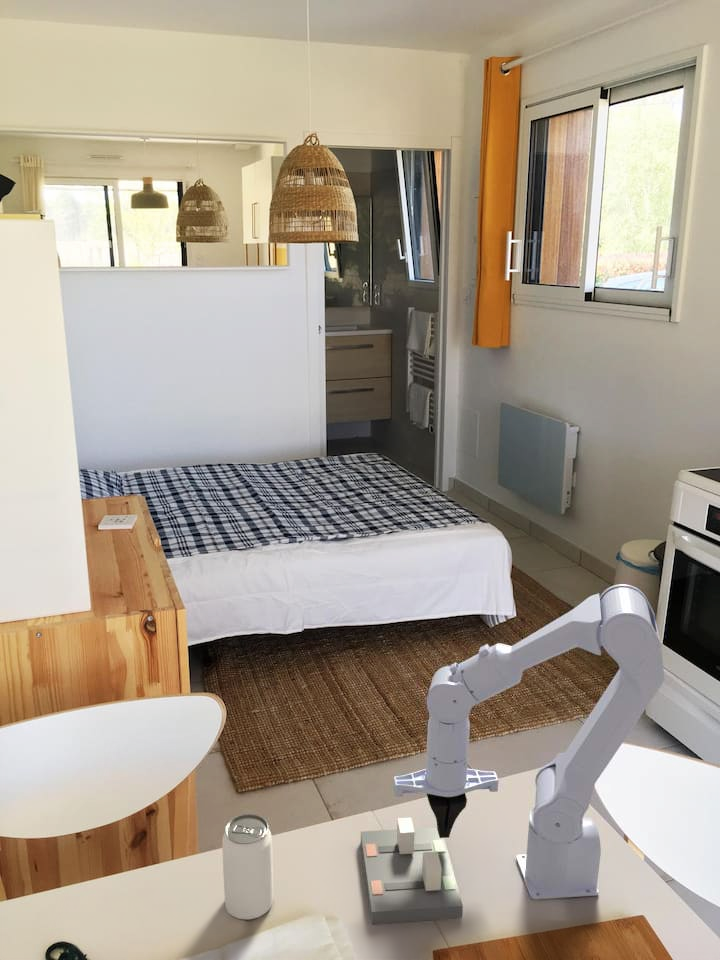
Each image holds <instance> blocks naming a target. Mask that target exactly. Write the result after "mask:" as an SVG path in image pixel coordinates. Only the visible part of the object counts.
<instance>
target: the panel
mask: <svg viewBox="0 0 720 960" xmlns="http://www.w3.org/2000/svg"><path fill="white" fill-rule="evenodd" d="M413 828H414V827H413ZM414 832H415V834H414V853H411V854H400V853H399V848H398V843H397V828H396V829H385V830H384V829H383V830H381V829H380V830H366V831H362V830H361V831H360V849H361V856H362V863H363V869H364V877H365V884H366V892H367V898H368V899H367V900H368V906H369V915H370V921H371V925H381V924H382V925H383V924H393V923H395V924H397V923H408V922H424V921H436V920H439V921H440V920H451V919H452V920H453V919H454V920H455V919H462V918H463V911H464V906H463V905H464V904H463V901H462V898H461V894H460V891H459V887H458V884H457V879H456V876H455V872H454V869H453V865H452V861H451V858H450V857H451V856H450V855H449V851H448V847H447V843H446V840H445V839H446V838H440V837H439V834H438V830H437V826H434V827H417V828H416V827H415V828H414ZM423 852H438V856H439V860H440V863H441V867H442V871H441V890H433V891H426V890H425V885H424V881H423V876H422V862H423Z"/></svg>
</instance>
